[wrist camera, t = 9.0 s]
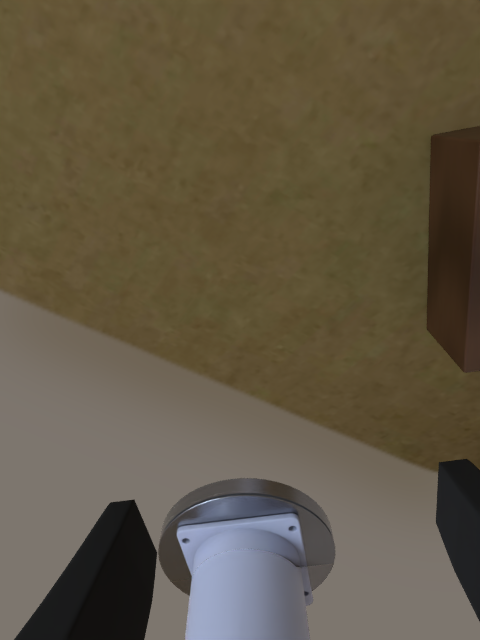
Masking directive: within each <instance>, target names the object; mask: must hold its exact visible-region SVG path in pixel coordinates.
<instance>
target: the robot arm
mask: <svg viewBox="0 0 480 640" xmlns="http://www.w3.org/2000/svg"><path fill="white" fill-rule="evenodd" d="M436 524H437V526H438V528H439V532H440V534H441V537H442V540H443V542H444V545H445V548H446V550H447V553H448V555H449V558H450V560H451V563H452V566H453V568H454V571H455V573H456V575H457V577H458V579H459V581H460V583H461V585H462V587H463V589H464V591H465V593H466V595H467V597H468V599H469V601H470V603H471V605H472V607H473V609H474V611H475V613H476V615H477V617H478V619H479V621H480V470H479V469H478V468H477V467H476V466H475V465H474V464H473V463H472V462H470V461H469V460H467V459H463V460H455V461H446V462H439V472H438V491H437V511H436ZM177 538H178V541H179V543H180V546H181V549H182V551H183V554H184V557H185V559H186V562H187V565H188V567H189V570H190V573H191V575H192V581H191V590H190V599H189V608H188V617H187V626H186V635H185V640H310V635H309V627H308V619H307V612H306V606H307V605H310V604H312V603H313V596H312V590H311V585H310V579H309V573H308V567H307V561H306V555H305V550H304V544H303V538H302V532H301V526H300V521H299V517H298V515H296V514H294V513H288V514H279V515H271V516H262V517H254V518H245V519H237V520H228V521H220V522H211V523H203V524H194V525H186V526H181V527H179V528H178V530H177ZM156 557H157V552H156V549H155V547H154V545H153V542H152V540H151V538H150V535H149V533H148V531H147V528H146V526H145V524H144V521H143V519H142V517H141V514H140V512H139V510H138V507H137V505H136V503H135V500H128V501H120V502H111V503H110V504H109V505H108V506H107V508H106V509H105V511H104V512H103V514H102V515H101V517H100V518H99V519H98V521H97V522H96V524H95V525H94V527H93V529H92V530H91V532H90V533H89V535H88V536H87V538H86V539H85V541H84V542H83V544H82V545H81V547H80V548H79V550H78V551H77V553H76V554H75V556H74V557H73V558H72V560H71V561H70V563H69V564H68V566H67V567H66V569H65V570H64V572H63V573H62V574H61V576H60V577H59V579H58V580H57V582H56V583H55V584H54V586H53V587H52V589H51V590H50V592H49V593H48V594H47V596H46V597H45V599H44V600H43V602H42V603H41V604H40V606H39V607H38V608H37V610H36V611H35V612H34V614H33V615H32V616H31V618H30V619H29V621H28V622H27V623H26V624H25V626H24V627H23V628H22V630H21V631H20V633H19V634H18V635H17V636H16V638H15V639H14V640H144V638H145V633H146V628H147V623H148V619H149V614H150V609H151V604H152V597H153V588H154V580H155V568H156Z"/></svg>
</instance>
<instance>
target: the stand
mask: <svg viewBox="0 0 480 640" xmlns="http://www.w3.org/2000/svg"><path fill="white" fill-rule="evenodd" d="M427 330H428V331H429V332H430V334H431V335H432V336H433V337H434V338H435V339H436V341H437V342H438V343H439V344H440V345H441V346H442V347H443V349H444V350H445V351H446V352H447V353H448V354H449V356H450V357H451V358H452V359H453V360H454V361H455V363H456V364H457V365H458V366H459V367H460V368H461V370H462V371H463V372H466V373H467V372H474V371H480V126H477V127H472V128H466V129H461V130H456V131H451V132H445V133H440V134H435V135H433V136H432V137H431V164H430V209H429V254H428V299H427Z"/></svg>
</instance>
